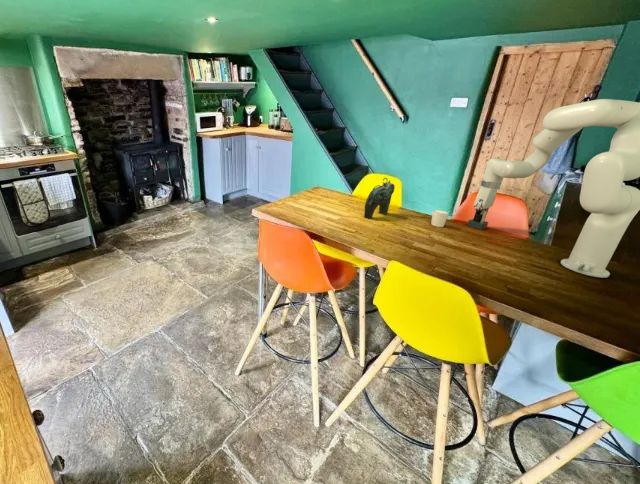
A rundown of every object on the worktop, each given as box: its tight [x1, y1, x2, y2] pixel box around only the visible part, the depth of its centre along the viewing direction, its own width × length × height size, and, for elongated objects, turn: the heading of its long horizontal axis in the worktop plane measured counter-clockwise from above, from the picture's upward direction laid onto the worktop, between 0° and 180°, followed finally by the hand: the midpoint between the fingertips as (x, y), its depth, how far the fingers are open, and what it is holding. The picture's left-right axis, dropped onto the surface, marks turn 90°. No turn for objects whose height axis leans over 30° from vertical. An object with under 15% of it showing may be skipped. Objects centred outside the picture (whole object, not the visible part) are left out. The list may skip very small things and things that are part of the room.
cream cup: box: [430, 209, 450, 228], centre depth 149 cm, size 7×7×7 cm
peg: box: [480, 209, 488, 223], centre depth 149 cm, size 3×3×6 cm
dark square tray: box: [466, 218, 489, 230], centre depth 150 cm, size 6×6×3 cm
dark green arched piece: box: [363, 177, 395, 220], centre depth 155 cm, size 20×6×20 cm, turn 128°
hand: (478, 220), depth 150 cm, fingers closed on peg, 3 cm apart
